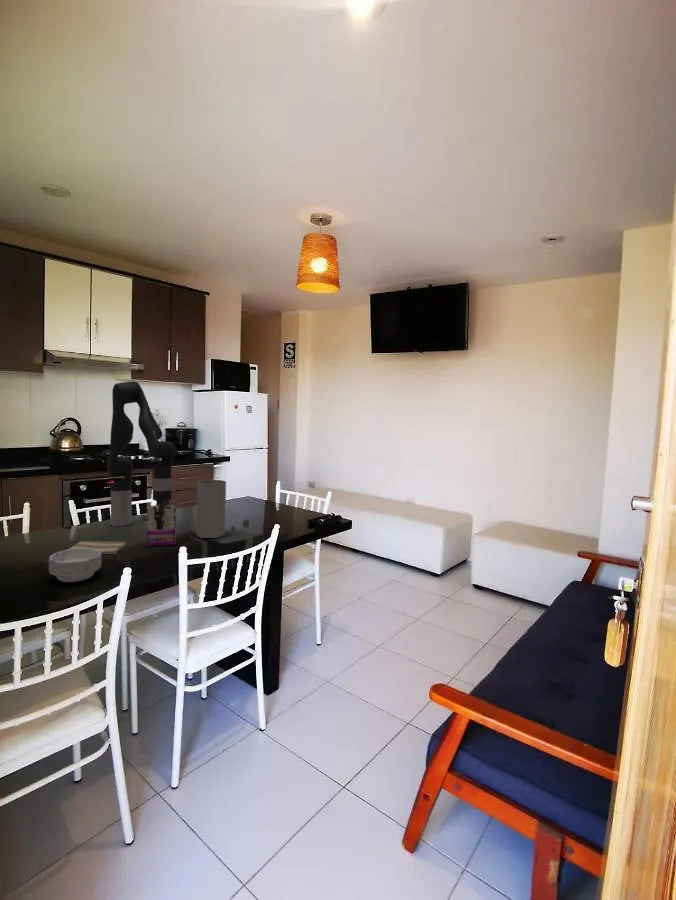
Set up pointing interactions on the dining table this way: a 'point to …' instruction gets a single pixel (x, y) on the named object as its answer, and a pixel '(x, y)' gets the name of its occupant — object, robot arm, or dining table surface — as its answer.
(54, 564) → the paper bowls
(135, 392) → the robot arm
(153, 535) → the candy bar box
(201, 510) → the cylinder vase
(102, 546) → the birch board
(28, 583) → the dining table surface
